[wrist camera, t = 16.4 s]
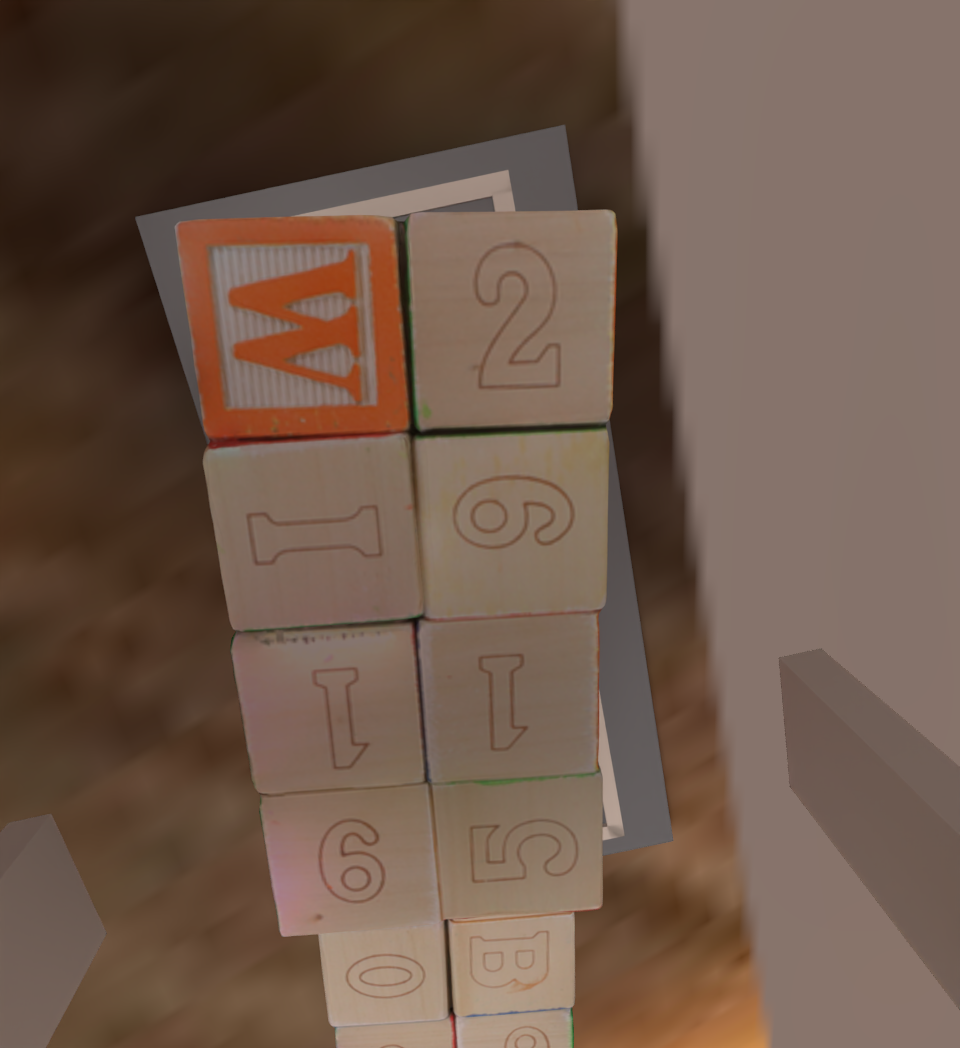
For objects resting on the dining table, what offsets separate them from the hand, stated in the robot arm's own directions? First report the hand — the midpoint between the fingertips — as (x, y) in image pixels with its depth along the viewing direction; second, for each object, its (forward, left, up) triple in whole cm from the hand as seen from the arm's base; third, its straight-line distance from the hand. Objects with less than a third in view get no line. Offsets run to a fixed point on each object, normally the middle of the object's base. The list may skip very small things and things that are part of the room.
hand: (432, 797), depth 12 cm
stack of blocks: (+1, 0, -12) cm, 12 cm away
